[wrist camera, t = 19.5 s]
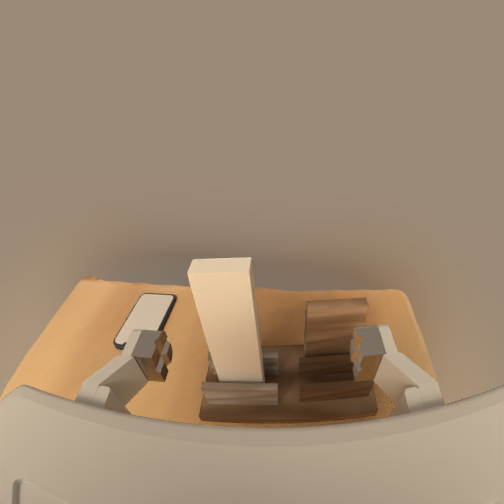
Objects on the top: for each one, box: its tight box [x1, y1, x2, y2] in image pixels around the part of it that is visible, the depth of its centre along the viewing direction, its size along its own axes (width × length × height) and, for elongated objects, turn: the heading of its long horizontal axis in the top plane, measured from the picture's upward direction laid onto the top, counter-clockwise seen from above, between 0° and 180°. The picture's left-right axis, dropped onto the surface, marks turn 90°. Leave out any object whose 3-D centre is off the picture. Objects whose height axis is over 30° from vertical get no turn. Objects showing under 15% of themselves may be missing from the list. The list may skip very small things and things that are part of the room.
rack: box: [199, 345, 378, 423], centre depth 40 cm, size 14×25×6 cm, turn 86°
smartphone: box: [114, 293, 176, 350], centre depth 56 cm, size 9×2×16 cm
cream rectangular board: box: [187, 257, 265, 383], centre depth 35 cm, size 2×6×22 cm, turn 86°
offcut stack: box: [304, 298, 368, 357], centre depth 41 cm, size 3×8×12 cm, turn 86°
